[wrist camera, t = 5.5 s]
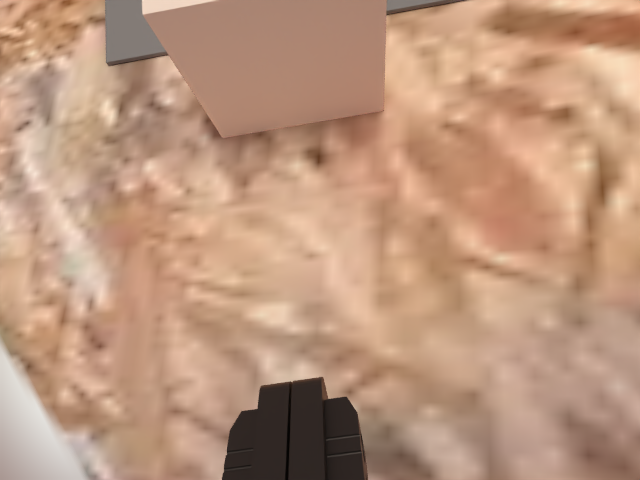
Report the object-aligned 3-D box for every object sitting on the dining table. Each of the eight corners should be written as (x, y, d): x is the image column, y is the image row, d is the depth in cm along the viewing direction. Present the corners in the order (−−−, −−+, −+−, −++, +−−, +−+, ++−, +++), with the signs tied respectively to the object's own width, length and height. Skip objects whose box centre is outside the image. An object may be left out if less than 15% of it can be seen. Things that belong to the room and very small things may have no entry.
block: (383, 110, 27) (387, -32, 18) (222, 138, 28) (142, 14, 18) (375, 63, 28) (374, -98, 19) (218, 91, 29) (139, -51, 19)
